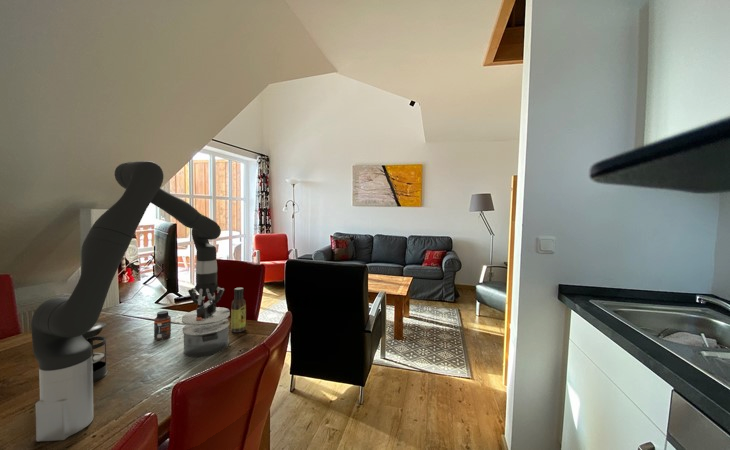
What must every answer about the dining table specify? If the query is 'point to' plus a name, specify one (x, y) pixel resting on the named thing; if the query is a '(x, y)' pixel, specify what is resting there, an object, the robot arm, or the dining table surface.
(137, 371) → the dining table surface
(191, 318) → the cooker lid
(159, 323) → the supplement bottle
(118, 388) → the dining table surface
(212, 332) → the cooker pot
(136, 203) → the robot arm
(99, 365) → the french press
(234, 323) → the sauce bottle
